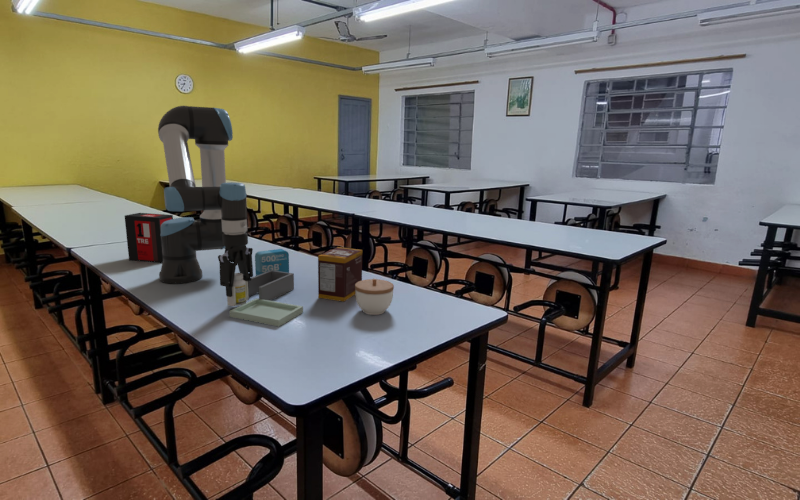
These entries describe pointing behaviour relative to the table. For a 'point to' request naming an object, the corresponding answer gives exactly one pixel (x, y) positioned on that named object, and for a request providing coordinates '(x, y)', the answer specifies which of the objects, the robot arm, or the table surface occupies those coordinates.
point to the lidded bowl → (374, 295)
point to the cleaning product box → (145, 236)
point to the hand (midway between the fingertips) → (238, 302)
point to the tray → (266, 312)
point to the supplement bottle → (240, 289)
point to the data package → (271, 261)
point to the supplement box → (339, 273)
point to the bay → (271, 284)
